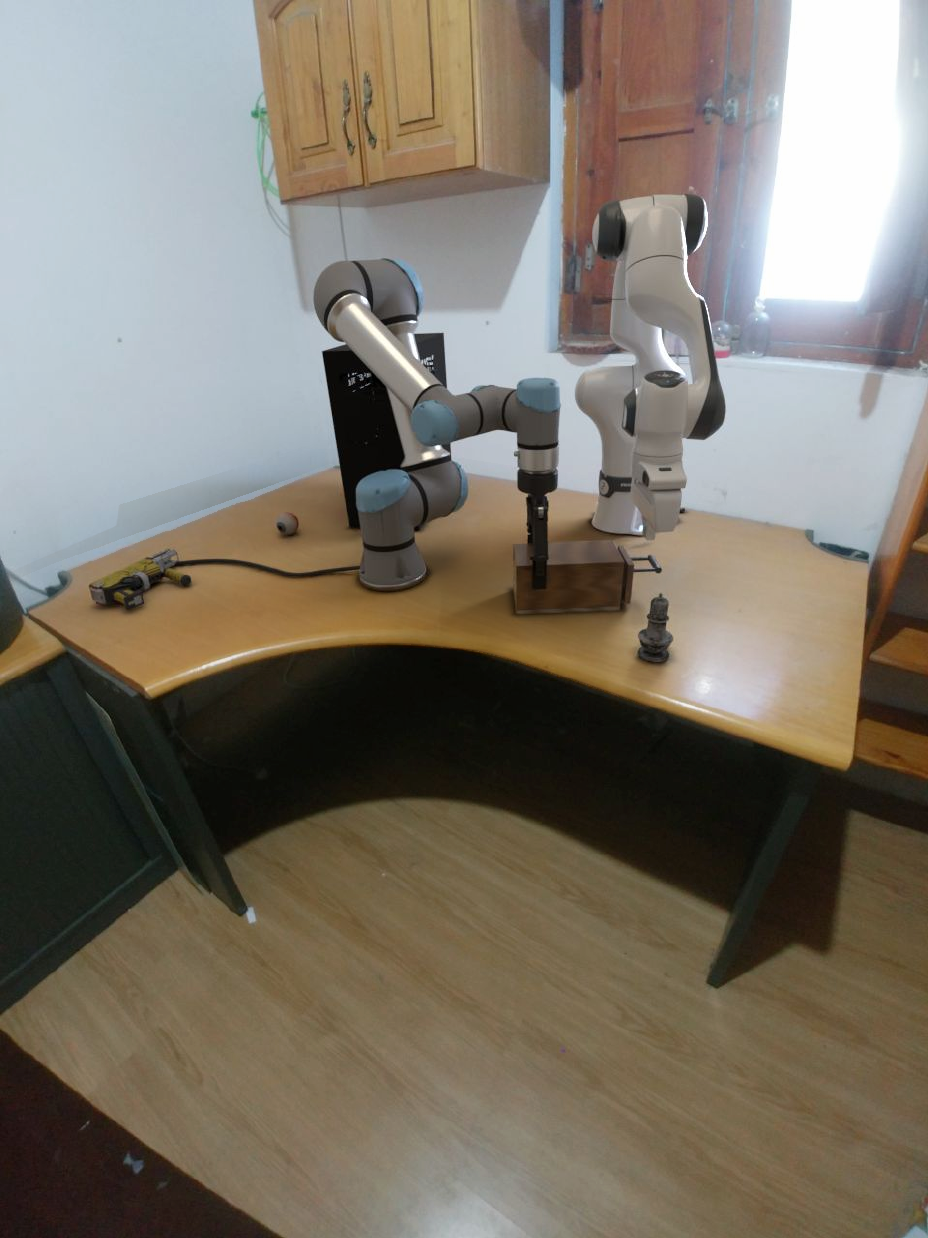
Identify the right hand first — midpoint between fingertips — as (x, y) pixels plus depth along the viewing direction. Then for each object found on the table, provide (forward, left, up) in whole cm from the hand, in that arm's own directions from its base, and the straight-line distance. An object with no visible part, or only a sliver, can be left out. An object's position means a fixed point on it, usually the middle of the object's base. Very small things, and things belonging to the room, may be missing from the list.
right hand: (648, 537), depth 118 cm
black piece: (+23, -80, -13) cm, 85 cm away
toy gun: (+92, -59, -13) cm, 110 cm away
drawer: (+9, -5, -12) cm, 16 cm away
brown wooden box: (+14, -7, -13) cm, 21 cm away
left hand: (+19, -10, -7) cm, 23 cm away
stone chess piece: (+12, +18, -13) cm, 25 cm away
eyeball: (+58, -76, -13) cm, 97 cm away
